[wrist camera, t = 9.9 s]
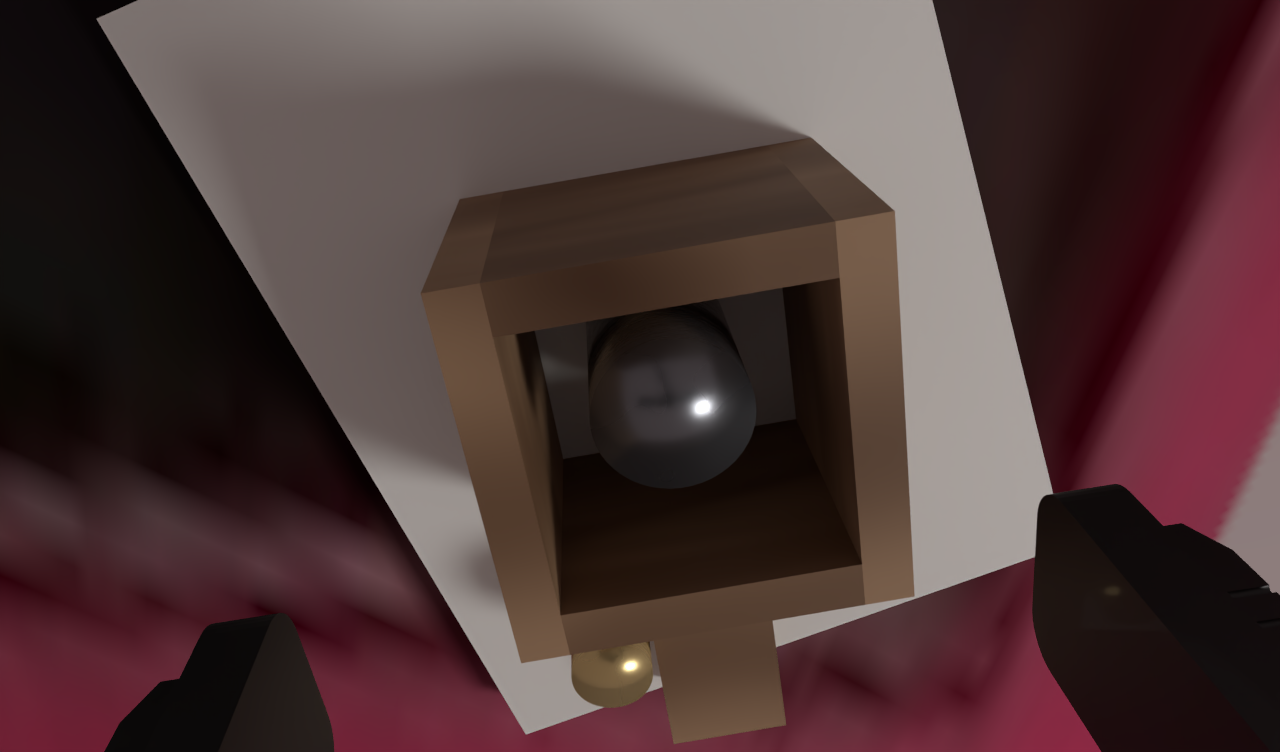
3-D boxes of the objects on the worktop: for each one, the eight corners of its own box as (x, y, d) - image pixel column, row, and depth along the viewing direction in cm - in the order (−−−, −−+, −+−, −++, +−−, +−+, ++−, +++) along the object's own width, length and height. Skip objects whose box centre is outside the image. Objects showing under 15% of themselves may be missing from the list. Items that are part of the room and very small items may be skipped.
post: (564, 287, 18) (563, 376, 15) (693, 236, 18) (723, 313, 15) (616, 401, 19) (627, 510, 16) (739, 354, 19) (778, 454, 16)
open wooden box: (459, 199, 18) (420, 293, 13) (810, 137, 18) (894, 210, 13) (579, 692, 23) (581, 886, 18) (854, 646, 22) (926, 827, 18)
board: (126, 12, 17) (96, 18, 16) (834, -305, 16) (853, -323, 15) (528, 698, 24) (525, 734, 23) (1042, 516, 23) (1065, 545, 22)
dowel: (560, 581, 21) (558, 660, 19) (628, 556, 21) (635, 632, 19) (588, 635, 22) (590, 717, 20) (654, 611, 22) (664, 691, 19)
